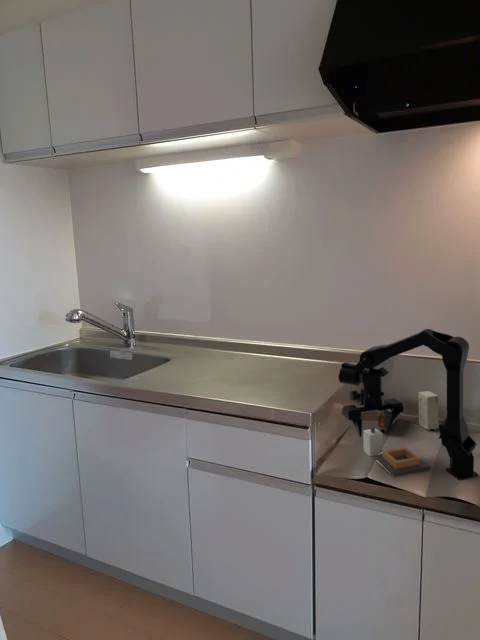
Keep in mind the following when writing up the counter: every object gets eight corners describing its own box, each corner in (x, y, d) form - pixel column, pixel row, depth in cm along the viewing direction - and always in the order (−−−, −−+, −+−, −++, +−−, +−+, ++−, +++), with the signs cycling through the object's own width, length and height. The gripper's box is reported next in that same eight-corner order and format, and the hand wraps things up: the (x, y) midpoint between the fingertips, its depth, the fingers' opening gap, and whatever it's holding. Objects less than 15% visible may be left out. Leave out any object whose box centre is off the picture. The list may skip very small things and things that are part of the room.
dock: (429, 469, 154) (429, 460, 153) (393, 476, 151) (392, 466, 150) (408, 452, 165) (407, 443, 164) (373, 458, 162) (373, 449, 162)
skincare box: (439, 429, 180) (439, 396, 178) (427, 431, 180) (427, 397, 177) (429, 422, 186) (429, 390, 184) (418, 424, 186) (418, 391, 183)
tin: (391, 417, 193) (391, 396, 192) (399, 419, 191) (399, 397, 190) (377, 432, 181) (377, 409, 179) (386, 434, 179) (385, 411, 178)
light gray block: (382, 454, 165) (382, 429, 163) (370, 456, 164) (369, 431, 162) (376, 448, 169) (375, 423, 168) (363, 450, 168) (363, 426, 167)
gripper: (386, 376, 172) (387, 420, 175) (334, 384, 168) (335, 429, 171) (404, 386, 161) (404, 433, 165) (349, 394, 157) (350, 442, 161)
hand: (373, 434), depth 165 cm, fingers open, 9 cm apart
